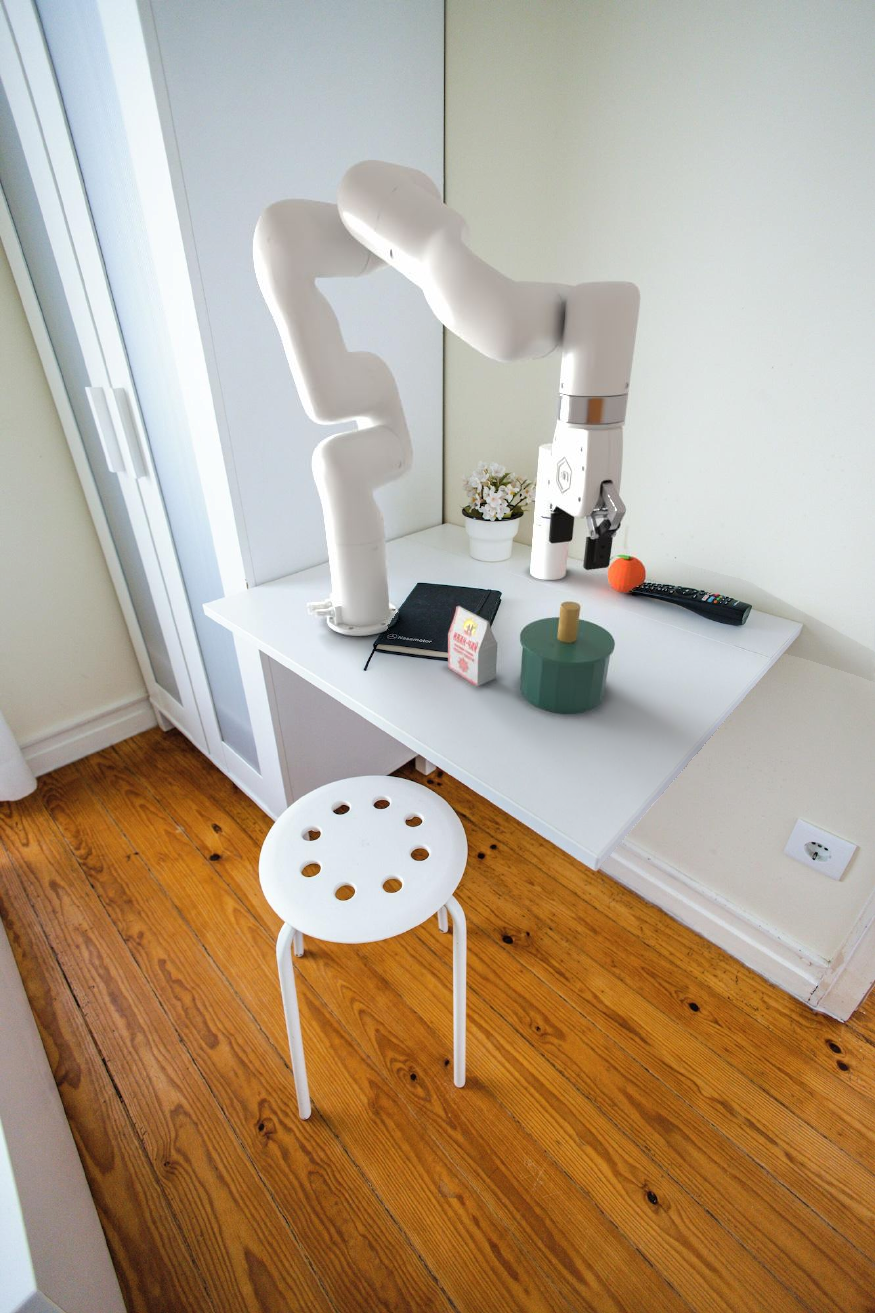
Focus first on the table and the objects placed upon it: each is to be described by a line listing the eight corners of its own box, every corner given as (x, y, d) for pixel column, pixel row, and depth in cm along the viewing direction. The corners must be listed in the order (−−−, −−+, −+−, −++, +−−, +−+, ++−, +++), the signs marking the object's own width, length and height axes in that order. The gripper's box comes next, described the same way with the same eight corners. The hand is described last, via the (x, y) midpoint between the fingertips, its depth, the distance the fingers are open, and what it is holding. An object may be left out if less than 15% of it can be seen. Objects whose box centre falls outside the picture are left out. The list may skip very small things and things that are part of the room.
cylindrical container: (555, 582, 119) (568, 453, 106) (524, 574, 123) (532, 448, 110) (571, 571, 124) (585, 446, 111) (540, 563, 128) (551, 441, 115)
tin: (539, 720, 80) (544, 669, 76) (508, 674, 90) (510, 627, 86) (618, 705, 83) (627, 656, 79) (579, 663, 93) (585, 617, 89)
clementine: (593, 588, 117) (598, 553, 113) (616, 579, 120) (621, 545, 117) (627, 602, 111) (633, 566, 107) (650, 592, 115) (656, 557, 111)
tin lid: (542, 676, 76) (546, 634, 73) (506, 630, 87) (508, 591, 84) (631, 661, 79) (639, 620, 76) (586, 618, 90) (591, 581, 86)
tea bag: (466, 659, 94) (467, 602, 89) (495, 677, 90) (498, 618, 84) (448, 667, 92) (448, 609, 87) (477, 686, 88) (478, 626, 82)
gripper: (530, 402, 74) (523, 536, 83) (599, 425, 60) (582, 583, 68) (585, 399, 76) (573, 530, 84) (665, 420, 61) (640, 575, 70)
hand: (577, 554), depth 76 cm, fingers open, 9 cm apart
